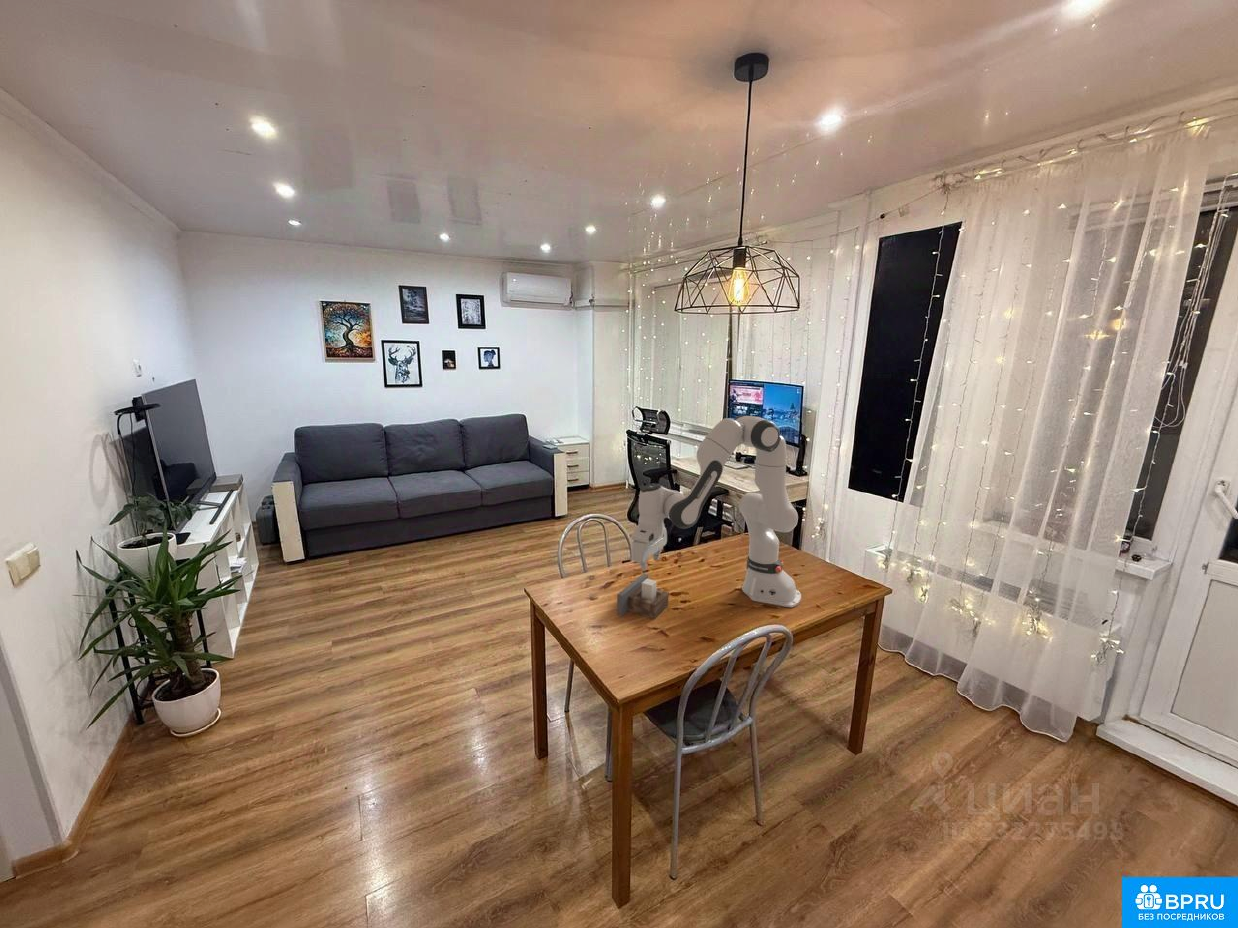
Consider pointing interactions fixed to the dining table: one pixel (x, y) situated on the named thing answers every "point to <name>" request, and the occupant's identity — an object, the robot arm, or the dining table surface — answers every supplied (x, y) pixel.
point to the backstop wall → (628, 594)
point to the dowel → (649, 589)
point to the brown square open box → (648, 603)
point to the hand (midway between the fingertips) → (650, 564)
